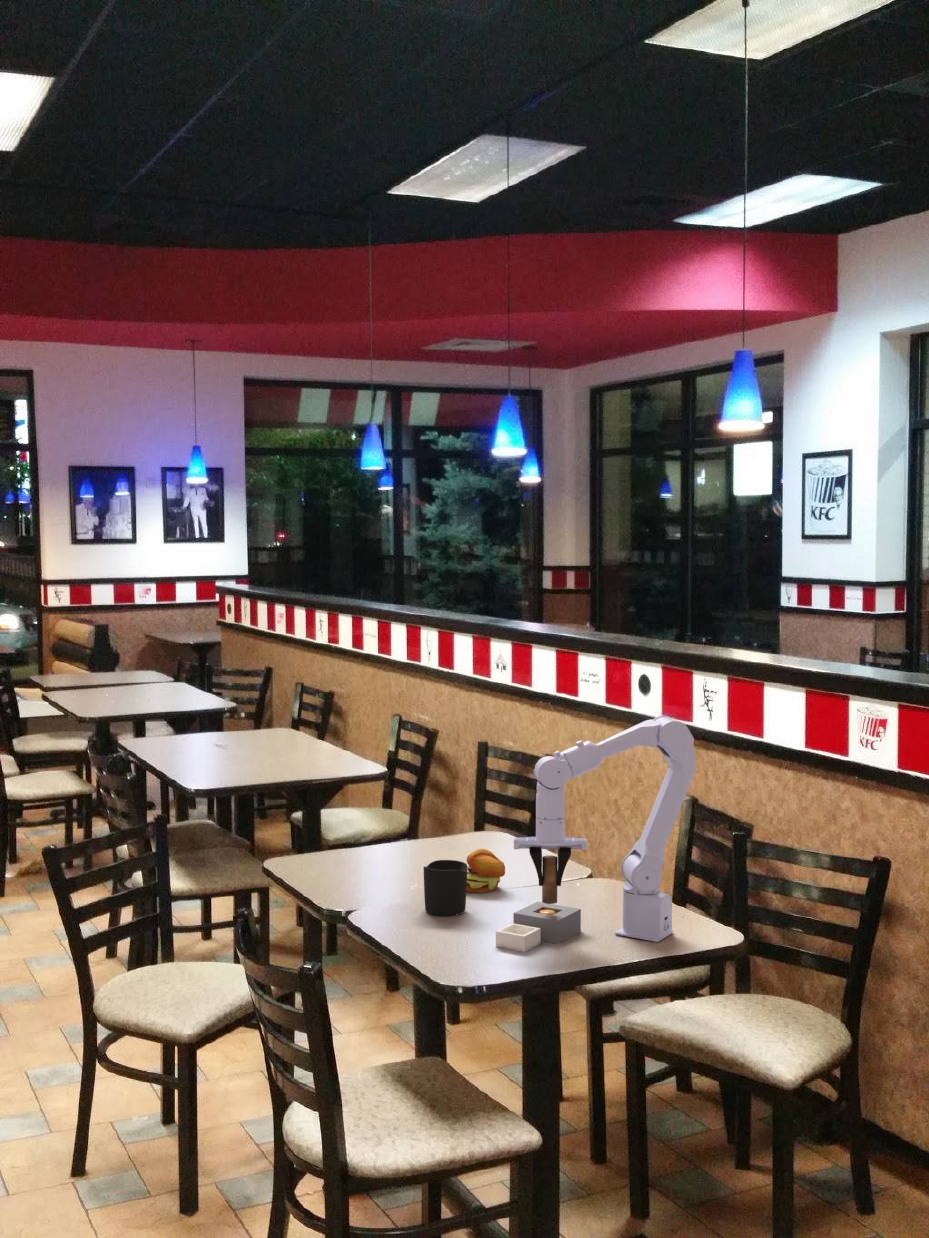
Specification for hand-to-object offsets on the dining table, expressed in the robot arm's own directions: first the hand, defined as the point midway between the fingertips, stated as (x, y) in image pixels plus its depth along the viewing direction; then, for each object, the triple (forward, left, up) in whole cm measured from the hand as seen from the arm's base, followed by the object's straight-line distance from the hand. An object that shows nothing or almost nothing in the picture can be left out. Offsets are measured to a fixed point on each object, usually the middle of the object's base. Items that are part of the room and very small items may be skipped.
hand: (549, 884), depth 245 cm
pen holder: (+27, -4, -11) cm, 30 cm away
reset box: (+1, -2, -10) cm, 11 cm away
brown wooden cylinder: (0, 0, -3) cm, 3 cm away
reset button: (+1, -2, -8) cm, 8 cm away
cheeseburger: (+31, -24, -11) cm, 40 cm away
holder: (+2, +8, -10) cm, 14 cm away
